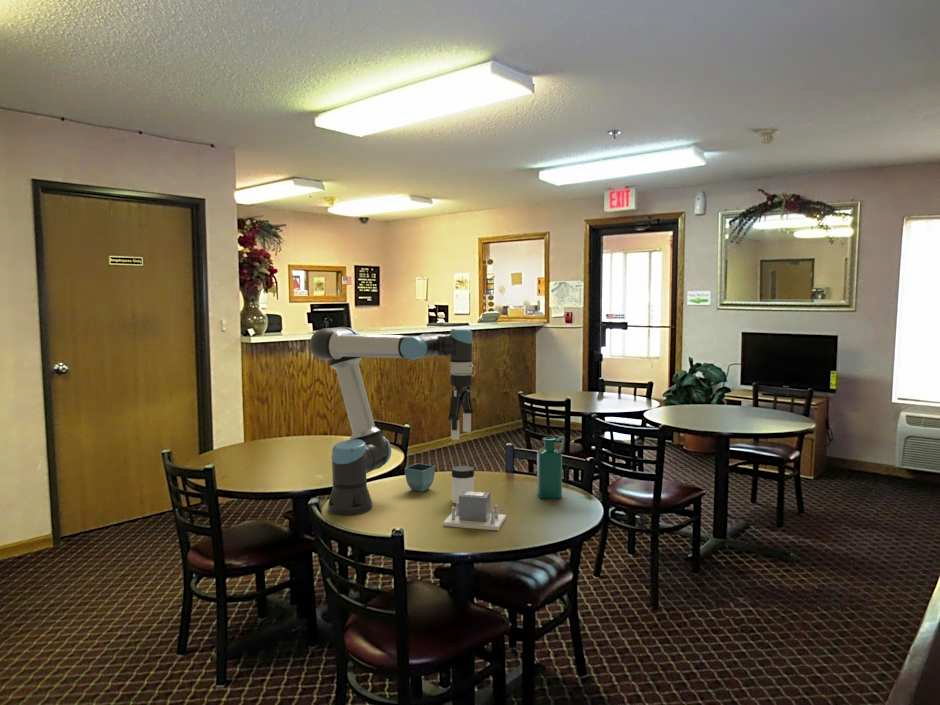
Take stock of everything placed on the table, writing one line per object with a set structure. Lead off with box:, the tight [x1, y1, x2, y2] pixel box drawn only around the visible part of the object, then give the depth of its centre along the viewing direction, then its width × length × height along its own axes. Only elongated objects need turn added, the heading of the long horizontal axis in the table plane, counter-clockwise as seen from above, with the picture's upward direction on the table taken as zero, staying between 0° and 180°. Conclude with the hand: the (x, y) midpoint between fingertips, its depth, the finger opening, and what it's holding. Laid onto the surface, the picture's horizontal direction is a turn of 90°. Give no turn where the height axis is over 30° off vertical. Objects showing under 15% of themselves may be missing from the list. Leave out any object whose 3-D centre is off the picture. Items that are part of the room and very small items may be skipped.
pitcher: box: [536, 435, 567, 500], centre depth 239 cm, size 10×8×22 cm
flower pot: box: [404, 462, 436, 493], centre depth 248 cm, size 9×9×9 cm
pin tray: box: [442, 502, 507, 531], centre depth 211 cm, size 18×12×5 cm, turn 75°
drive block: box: [459, 491, 491, 522], centre depth 211 cm, size 9×6×8 cm, turn 75°
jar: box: [451, 465, 475, 504], centre depth 233 cm, size 9×8×12 cm
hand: (461, 435), depth 222 cm, fingers open, 13 cm apart
